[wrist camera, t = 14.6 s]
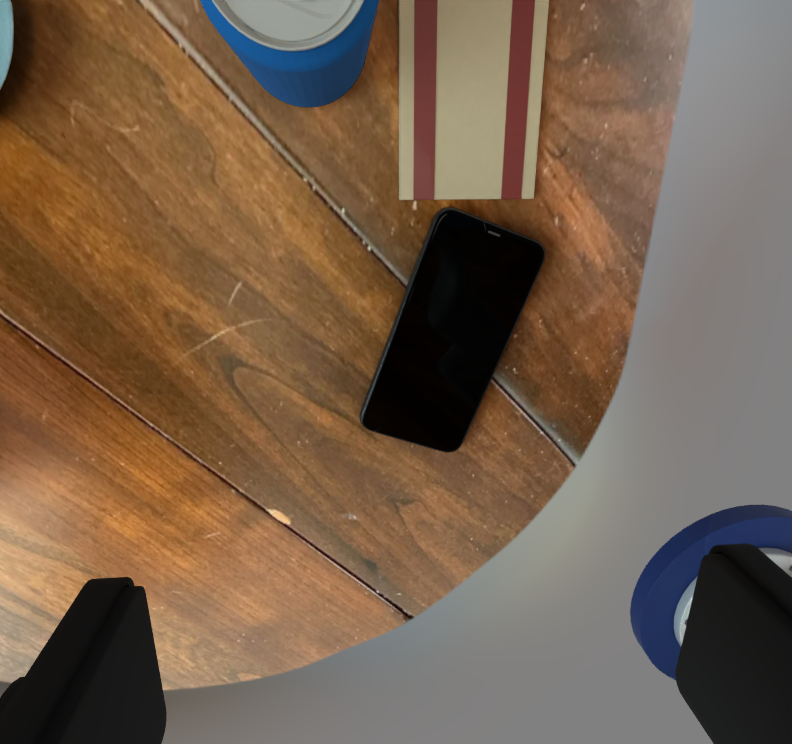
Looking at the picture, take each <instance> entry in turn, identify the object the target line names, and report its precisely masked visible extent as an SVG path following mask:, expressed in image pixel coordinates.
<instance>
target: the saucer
mask: <svg viewBox="0 0 792 744" xmlns="http://www.w3.org/2000/svg"><path fill="white" fill-rule="evenodd" d="M13 17H14V15H13V8H12V2H11V0H0V89H1V88H2V86H3V83H4V81H5V79H6V76H7V74H8V70H9V67H10V63H11V59H12V53H13V44H14V21H13Z"/></svg>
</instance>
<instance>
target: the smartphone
mask: <svg viewBox="0 0 792 744" xmlns="http://www.w3.org/2000/svg"><path fill="white" fill-rule="evenodd" d="M544 260H545V249H544V247H543V245H542V244H541V243H540V242H539V241H537V240H535V239H533V238H530V237H528V236H525V235H523V234H520V233H518V232H515V231H513V230H510V229H508V228H505V227H503V226H500V225H498V224H495V223H493V222H490V221H488V220H485V219H482V218H480V217H477V216H475V215H472V214H470V213H467V212H464V211H462V210H459V209H456V208H452V207H446V208H443V209H441V210H440V211H438V212H437V214H436V215H435V216H434V218H433V220H432V223H431V225H430V228H429V231H428V233H427V236H426V238H425V240H424V243H423V247H422V249H421V252H420V254H419V256H418V258H417V261H416V264H415V266H414V271H413V273H412V274H411V277H410V280H409V282H408V285H407V288H406V292H405V294H404V297H403V300H402V302H401V305H400V308H399V310H398V313H397V316H396V318H395V321H394V324H393V326H392V329H391V332H390V334H389V337H388V340H387V342H386V345H385V348H384V350H383V353H382V356H381V358H380V361H379V364H378V366H377V369H376V372H375V374H374V377H373V380H372V382H371V385H370V388H369V390H368V393H367V396H366V398H365V401H364V403H363V406H362V409H361V412H360V422H361V424H362V425H363V427H365V428H366V429H368V430H370V431H373V432H376V433H379V434H383V435H386V436H390V437H393V438H396V439H400V440H403V441H407V442H410V443H414V444H417V445H421V446H424V447H428V448H431V449H435V450H438V451H442V452H454V451H456V450H458V449H459V448H460V446H461V445H462V443H463V442H464V439H465V437H466V435H467V433H468V431H469V428H470V426H471V424H472V422H473V419H474V417H475V415H476V413H477V410H478V408H479V406H480V404H481V401H482V399H483V397H484V395H485V393H486V390H487V388H488V386H489V384H490V381H491V379H492V377H493V375H494V372H495V370H496V368H497V366H498V364H499V361H500V359H501V357H502V355H503V352H504V350H505V348H506V346H507V343H508V341H509V339H510V337H511V334H512V332H513V330H514V328H515V326H516V323H517V322H518V320H519V317H520V315H521V313H522V311H523V309H524V306H525V304H526V302H527V299H528V297H529V294H530V292H531V290H532V288H533V285H534V283H535V281H536V279H537V276H538V274H539V272H540V270H541V268H542V265H543V263H544Z"/></svg>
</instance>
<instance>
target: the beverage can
mask: <svg viewBox="0 0 792 744" xmlns="http://www.w3.org/2000/svg"><path fill="white" fill-rule="evenodd" d="M200 1H201V4H202V6H203V8H204V10H205V12H206V14H207V15H208V17H209V19H210V21H211V22H212V23H213V25H214V26H215V28H216V29H217V30H218V32H219V33H220V34H221V36H222V37H223V38H224V39H225V41H226V42H227V43H228V44H229V46H230V47H231V48H232V50H233V51H234V52H235V53H236V55H237V56H238V57H239V58H240V60H241V61H242V62H243V63H244V65H245V66H246V67H247V68H248V70H249V71H250V72H251V73H252V75H253V76H254V77H255V78H256V80H257V81H258V82H259V83H260V84H261V85H262V87H263V88H264V89H266V90H267V91H268V92H269V93H270V94H272V95H273V96H275V97H276V98H277V99H279V100H281V101H283V102H285V103H288V104H291V105H294V106H299V107H318V106H322V105H326V104H328V103H331V102H333V101H335V100H337V99H338V98H340V97H341V96H342V95H344V94H345V93H346V92H347V91H348V90H349V89H350V88H351V87H352V86H353V84H354V83H355V82H356V80H357V78H358V77H359V75H360V73H361V71H362V68H363V65H364V62H365V58H366V54H367V50H368V46H369V42H370V37H371V33H372V29H373V25H374V20H375V16H376V12H377V8H378V3H379V0H200Z"/></svg>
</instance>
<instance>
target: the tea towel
mask: <svg viewBox="0 0 792 744" xmlns="http://www.w3.org/2000/svg"><path fill="white" fill-rule="evenodd" d="M548 7H549V0H398V48H399V200H454V199H534V189H535V176H536V163H537V150H538V137H539V124H540V111H541V98H542V85H543V72H544V59H545V46H546V33H547V20H548Z"/></svg>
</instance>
